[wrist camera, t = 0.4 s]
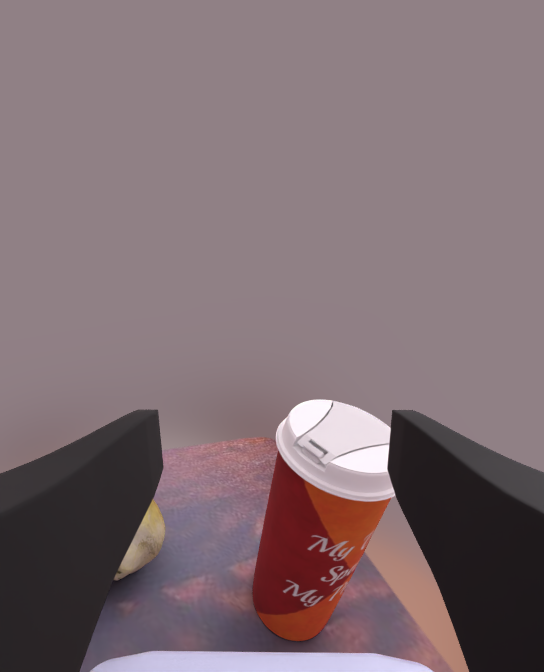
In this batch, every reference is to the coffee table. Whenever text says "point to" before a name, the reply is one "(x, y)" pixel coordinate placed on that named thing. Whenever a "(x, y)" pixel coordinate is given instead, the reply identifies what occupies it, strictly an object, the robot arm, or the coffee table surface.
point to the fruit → (144, 542)
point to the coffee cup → (319, 513)
